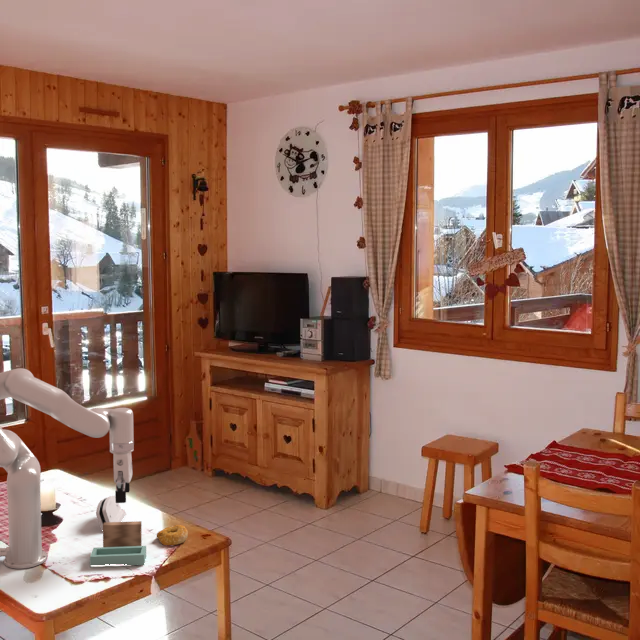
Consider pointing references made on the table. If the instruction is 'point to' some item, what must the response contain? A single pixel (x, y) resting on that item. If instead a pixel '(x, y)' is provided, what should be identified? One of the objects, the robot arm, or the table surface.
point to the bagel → (173, 535)
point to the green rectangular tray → (118, 555)
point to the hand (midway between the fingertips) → (122, 497)
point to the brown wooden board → (122, 534)
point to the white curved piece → (109, 511)
